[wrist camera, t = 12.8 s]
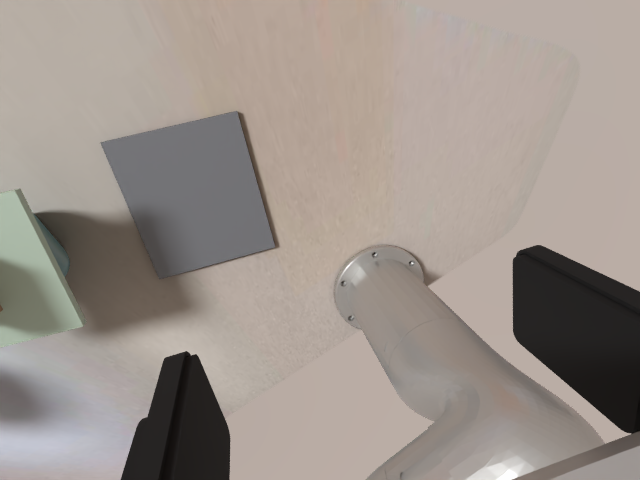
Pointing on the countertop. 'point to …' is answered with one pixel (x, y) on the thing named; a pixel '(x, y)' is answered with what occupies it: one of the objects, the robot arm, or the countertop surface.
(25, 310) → the lid
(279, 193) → the countertop surface
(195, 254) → the mat
